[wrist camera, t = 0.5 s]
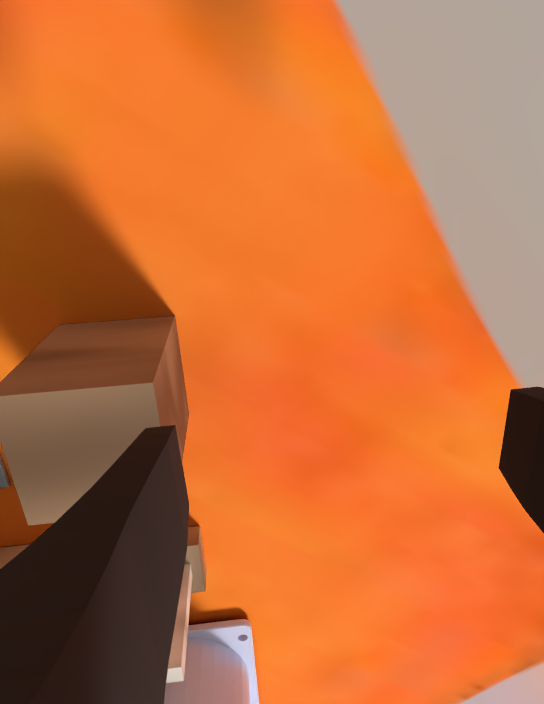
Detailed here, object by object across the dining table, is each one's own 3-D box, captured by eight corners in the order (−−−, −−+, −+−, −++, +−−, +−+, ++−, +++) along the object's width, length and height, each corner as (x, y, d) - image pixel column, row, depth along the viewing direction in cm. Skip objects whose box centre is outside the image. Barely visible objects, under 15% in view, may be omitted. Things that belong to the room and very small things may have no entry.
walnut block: (189, 413, 20) (175, 510, 14) (83, 423, 20) (28, 525, 14) (175, 315, 18) (152, 382, 13) (59, 324, 18) (-16, 397, 12)
